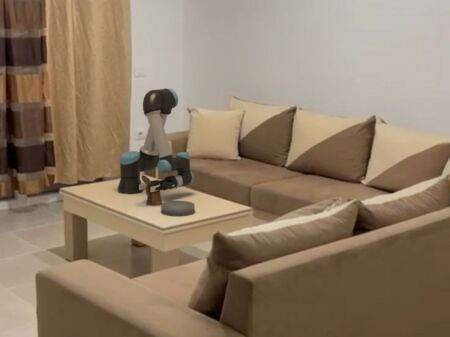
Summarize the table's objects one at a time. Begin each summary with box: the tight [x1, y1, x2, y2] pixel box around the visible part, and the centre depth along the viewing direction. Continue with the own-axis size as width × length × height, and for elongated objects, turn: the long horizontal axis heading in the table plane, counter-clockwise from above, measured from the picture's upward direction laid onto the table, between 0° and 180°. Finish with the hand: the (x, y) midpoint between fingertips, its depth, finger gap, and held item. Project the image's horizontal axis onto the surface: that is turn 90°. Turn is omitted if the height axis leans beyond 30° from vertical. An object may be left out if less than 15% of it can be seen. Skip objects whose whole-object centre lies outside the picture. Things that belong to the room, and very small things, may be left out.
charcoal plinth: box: [160, 200, 196, 217], centre depth 403 cm, size 18×18×4 cm
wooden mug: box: [140, 174, 163, 207], centre depth 417 cm, size 9×14×18 cm, turn 142°
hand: (145, 188), depth 413 cm, fingers open, 8 cm apart
